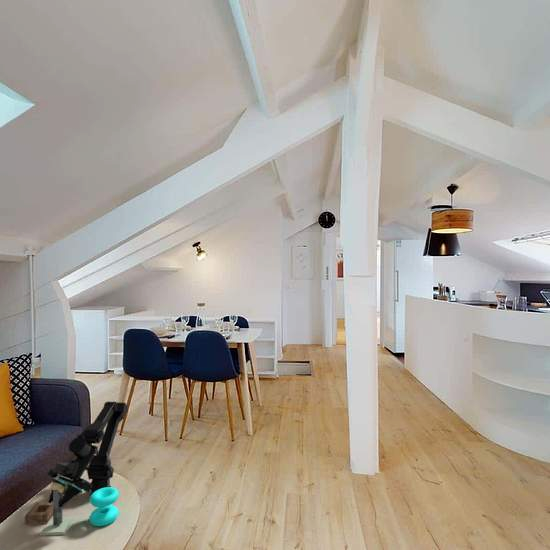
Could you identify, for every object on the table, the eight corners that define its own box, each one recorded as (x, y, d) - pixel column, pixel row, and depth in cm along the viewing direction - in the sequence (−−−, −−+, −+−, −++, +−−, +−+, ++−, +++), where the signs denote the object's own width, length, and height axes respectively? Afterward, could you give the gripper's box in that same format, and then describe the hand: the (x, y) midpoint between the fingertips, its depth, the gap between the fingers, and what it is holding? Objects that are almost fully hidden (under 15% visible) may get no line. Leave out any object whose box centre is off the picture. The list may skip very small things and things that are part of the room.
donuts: (114, 499, 141) (85, 501, 140) (113, 527, 141) (85, 528, 140) (122, 485, 151) (95, 486, 150) (121, 510, 151) (95, 511, 150)
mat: (73, 520, 144) (73, 517, 144) (63, 534, 136) (63, 531, 136) (51, 521, 144) (51, 518, 144) (40, 535, 136) (40, 532, 136)
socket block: (57, 509, 151) (57, 502, 151) (47, 522, 143) (47, 514, 143) (36, 510, 150) (36, 502, 150) (24, 523, 142) (24, 515, 142)
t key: (48, 522, 140) (48, 485, 140) (56, 517, 143) (56, 481, 143) (59, 527, 137) (59, 489, 137) (67, 522, 140) (67, 485, 140)
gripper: (52, 447, 148) (22, 490, 138) (85, 458, 139) (56, 504, 129) (71, 458, 155) (43, 500, 145) (103, 469, 146) (76, 515, 137)
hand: (54, 504), depth 139 cm, fingers open, 5 cm apart
